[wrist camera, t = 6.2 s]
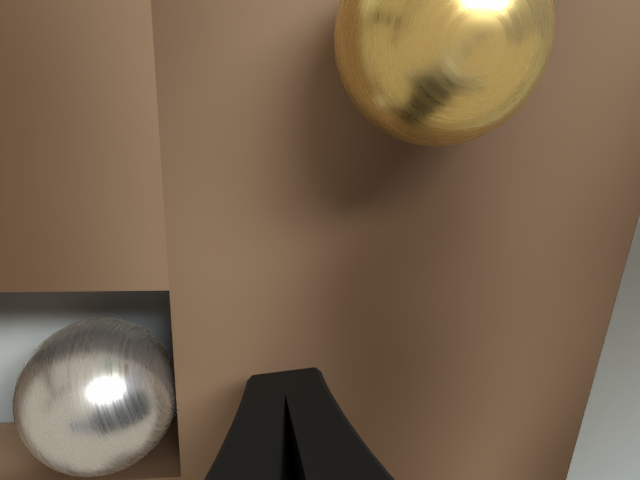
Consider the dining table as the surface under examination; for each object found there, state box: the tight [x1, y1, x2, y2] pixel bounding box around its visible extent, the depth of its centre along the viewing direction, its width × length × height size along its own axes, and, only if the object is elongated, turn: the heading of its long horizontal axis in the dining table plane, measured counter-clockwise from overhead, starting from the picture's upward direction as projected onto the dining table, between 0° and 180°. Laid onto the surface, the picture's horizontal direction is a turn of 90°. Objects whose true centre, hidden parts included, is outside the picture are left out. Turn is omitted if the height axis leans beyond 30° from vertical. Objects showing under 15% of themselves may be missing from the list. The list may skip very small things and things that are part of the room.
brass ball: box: [334, 0, 555, 147], centre depth 8 cm, size 3×3×3 cm
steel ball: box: [13, 318, 177, 477], centre depth 12 cm, size 3×3×3 cm
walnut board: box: [0, 0, 640, 480], centre depth 12 cm, size 16×18×2 cm
